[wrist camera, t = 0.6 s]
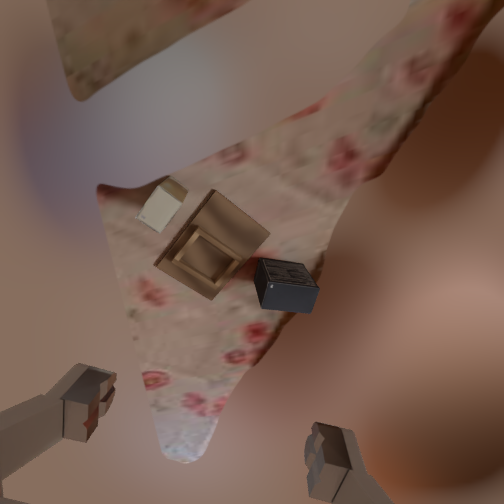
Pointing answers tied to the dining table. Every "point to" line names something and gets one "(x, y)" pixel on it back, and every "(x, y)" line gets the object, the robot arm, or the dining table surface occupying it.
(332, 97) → the dining table surface
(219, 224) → the wooden board with frame
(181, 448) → the dining table surface
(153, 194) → the skincare box
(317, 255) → the dining table surface
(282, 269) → the small box
